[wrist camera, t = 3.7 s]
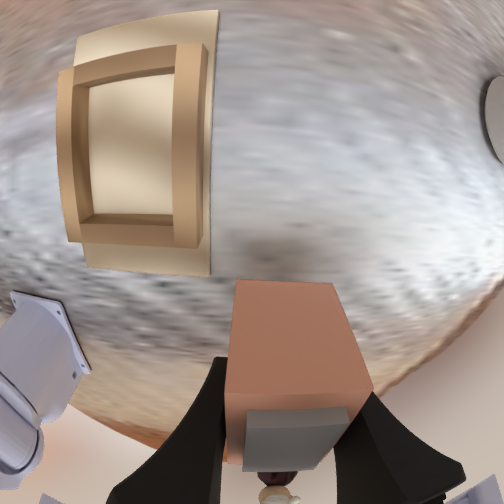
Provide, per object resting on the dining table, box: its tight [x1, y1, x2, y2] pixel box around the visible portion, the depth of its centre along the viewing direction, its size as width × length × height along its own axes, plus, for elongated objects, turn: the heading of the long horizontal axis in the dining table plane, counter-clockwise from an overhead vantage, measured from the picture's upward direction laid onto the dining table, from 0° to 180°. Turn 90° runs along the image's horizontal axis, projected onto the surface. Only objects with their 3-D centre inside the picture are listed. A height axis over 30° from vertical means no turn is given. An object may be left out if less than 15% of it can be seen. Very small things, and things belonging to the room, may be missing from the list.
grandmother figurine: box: [257, 471, 301, 504], centre depth 18 cm, size 8×4×13 cm, turn 41°
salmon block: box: [224, 279, 374, 472], centre depth 10 cm, size 6×4×6 cm, turn 177°
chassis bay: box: [56, 10, 220, 278], centre depth 13 cm, size 16×9×2 cm, turn 177°
